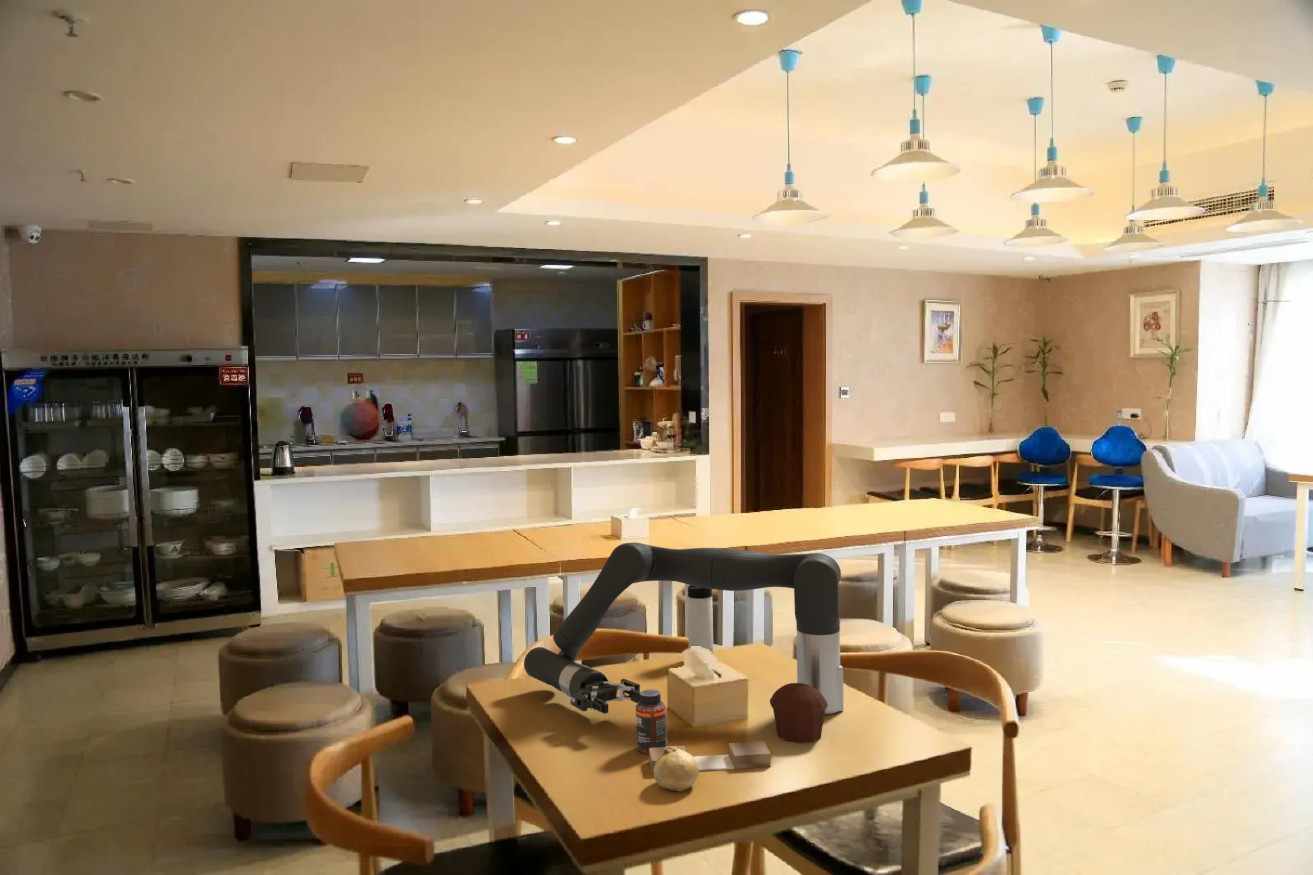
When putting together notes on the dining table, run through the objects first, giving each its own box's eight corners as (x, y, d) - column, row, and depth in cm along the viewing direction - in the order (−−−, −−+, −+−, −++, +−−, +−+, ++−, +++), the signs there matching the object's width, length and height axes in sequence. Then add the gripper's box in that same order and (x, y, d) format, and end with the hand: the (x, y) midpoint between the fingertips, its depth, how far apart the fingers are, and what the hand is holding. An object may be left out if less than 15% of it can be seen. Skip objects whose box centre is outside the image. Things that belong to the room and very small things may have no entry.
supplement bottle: (671, 745, 185) (670, 688, 184) (661, 757, 179) (660, 698, 178) (642, 742, 187) (641, 686, 186) (632, 753, 181) (630, 696, 180)
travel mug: (715, 664, 236) (714, 585, 235) (689, 664, 236) (687, 586, 235) (714, 656, 242) (712, 580, 241) (688, 657, 242) (687, 580, 241)
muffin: (839, 734, 188) (839, 685, 188) (806, 750, 181) (806, 699, 180) (791, 719, 197) (790, 673, 196) (758, 735, 189) (757, 686, 188)
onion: (694, 775, 171) (694, 737, 170) (702, 794, 163) (702, 754, 162) (651, 778, 170) (650, 740, 169) (657, 798, 162) (656, 758, 161)
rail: (763, 753, 179) (763, 741, 179) (770, 766, 173) (770, 753, 173) (649, 761, 177) (649, 748, 177) (652, 774, 171) (652, 760, 171)
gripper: (553, 673, 199) (594, 693, 186) (610, 660, 207) (652, 678, 194) (555, 708, 199) (595, 730, 186) (611, 693, 208) (653, 714, 194)
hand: (624, 703), depth 190 cm, fingers open, 8 cm apart
